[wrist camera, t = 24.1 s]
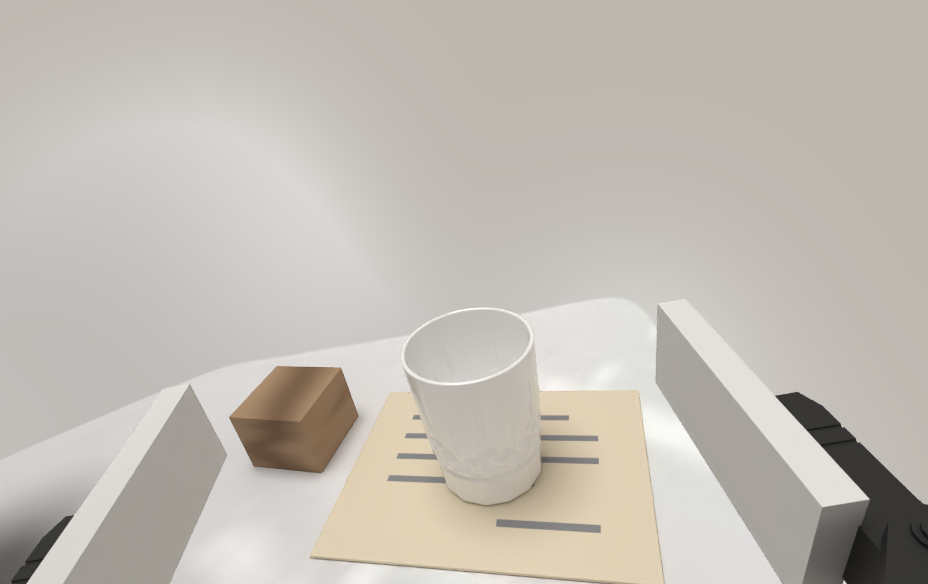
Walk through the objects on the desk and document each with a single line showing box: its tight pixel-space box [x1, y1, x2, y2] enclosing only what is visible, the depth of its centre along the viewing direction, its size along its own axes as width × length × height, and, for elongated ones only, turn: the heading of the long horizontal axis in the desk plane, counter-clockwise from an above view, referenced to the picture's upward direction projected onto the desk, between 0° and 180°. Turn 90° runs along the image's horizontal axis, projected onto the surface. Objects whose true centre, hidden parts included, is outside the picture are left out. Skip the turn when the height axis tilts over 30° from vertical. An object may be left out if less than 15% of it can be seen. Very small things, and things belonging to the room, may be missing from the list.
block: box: [229, 366, 358, 473], centre depth 39 cm, size 6×6×5 cm
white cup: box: [400, 307, 542, 505], centre depth 32 cm, size 8×8×10 cm
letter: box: [310, 390, 664, 584], centre depth 35 cm, size 20×15×1 cm
